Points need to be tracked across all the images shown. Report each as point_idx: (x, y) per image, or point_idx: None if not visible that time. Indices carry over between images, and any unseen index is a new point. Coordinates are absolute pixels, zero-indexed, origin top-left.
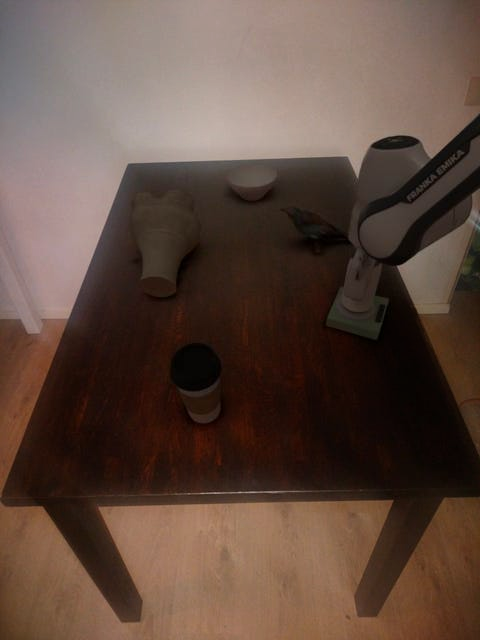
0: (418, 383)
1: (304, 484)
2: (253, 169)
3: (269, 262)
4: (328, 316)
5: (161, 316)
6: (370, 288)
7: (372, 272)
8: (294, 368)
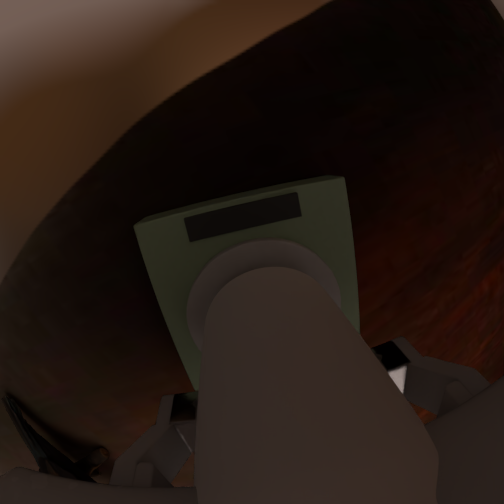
0: (396, 34)
1: None
2: None
3: None
4: None
5: None
6: (371, 357)
7: (444, 468)
8: (474, 304)
